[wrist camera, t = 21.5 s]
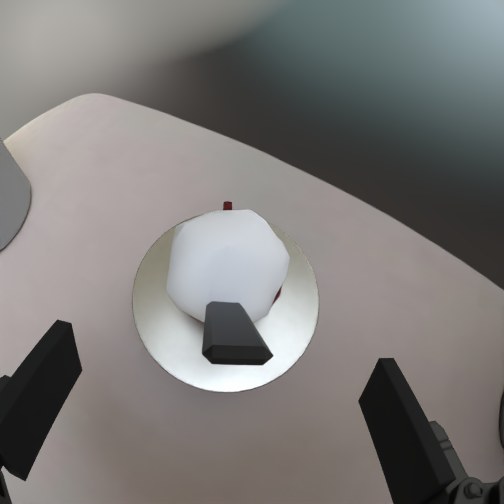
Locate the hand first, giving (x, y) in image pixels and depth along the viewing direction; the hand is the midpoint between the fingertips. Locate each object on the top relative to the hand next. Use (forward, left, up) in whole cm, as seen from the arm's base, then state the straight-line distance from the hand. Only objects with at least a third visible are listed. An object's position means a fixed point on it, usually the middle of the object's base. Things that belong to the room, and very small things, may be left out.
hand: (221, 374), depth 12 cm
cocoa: (-1, -5, -7) cm, 8 cm away
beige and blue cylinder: (-2, -5, -14) cm, 15 cm away
